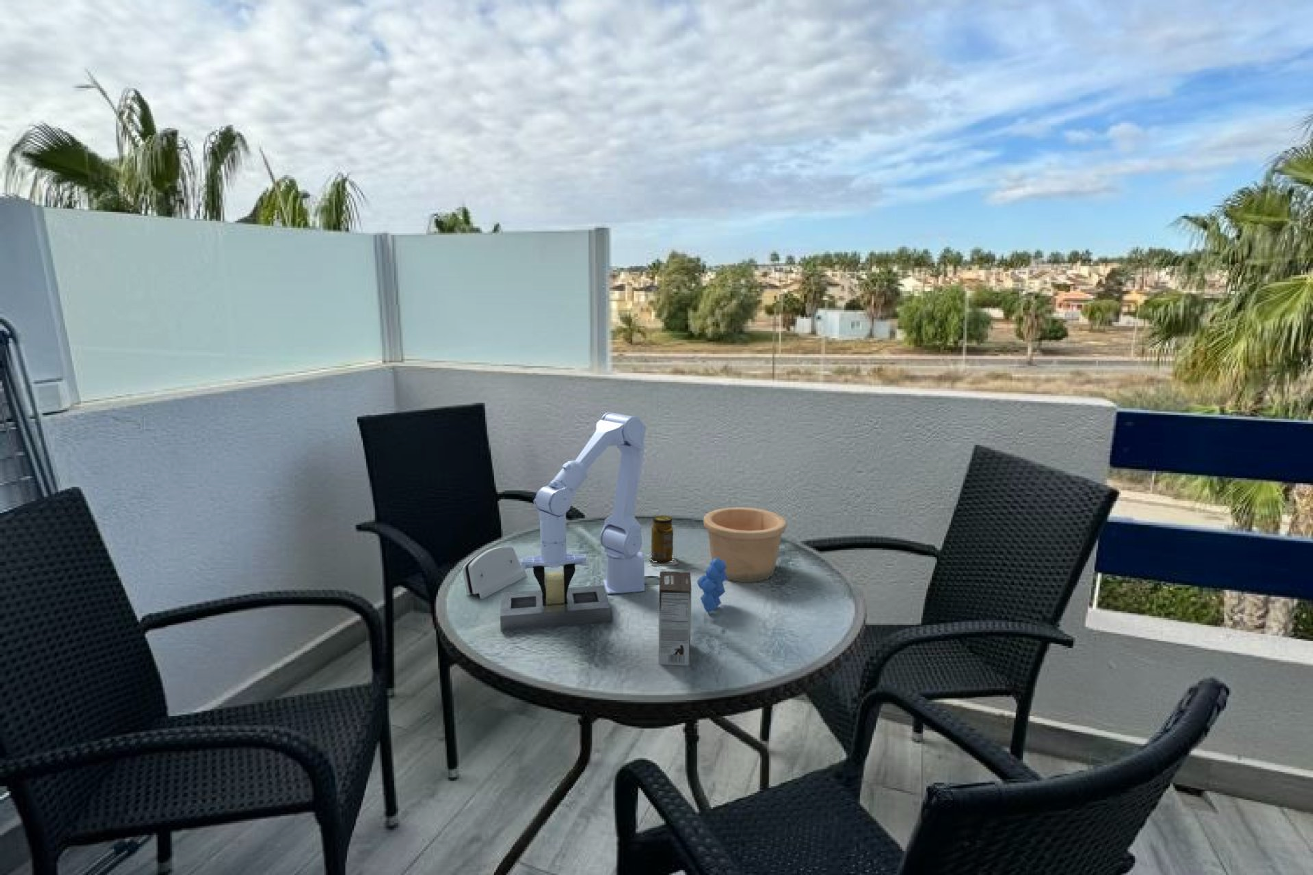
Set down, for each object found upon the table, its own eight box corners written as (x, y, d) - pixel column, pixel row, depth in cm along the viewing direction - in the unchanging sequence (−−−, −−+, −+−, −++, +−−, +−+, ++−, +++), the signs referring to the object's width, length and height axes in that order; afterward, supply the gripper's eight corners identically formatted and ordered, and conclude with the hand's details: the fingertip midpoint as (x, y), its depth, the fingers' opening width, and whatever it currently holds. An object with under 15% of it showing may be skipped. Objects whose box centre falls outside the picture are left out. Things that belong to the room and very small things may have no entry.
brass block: (563, 603, 152) (562, 571, 150) (564, 611, 148) (563, 579, 146) (545, 605, 151) (545, 572, 149) (546, 613, 147) (545, 580, 146)
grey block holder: (604, 598, 158) (603, 585, 158) (610, 621, 147) (610, 607, 146) (502, 606, 154) (501, 592, 153) (500, 631, 142) (500, 616, 142)
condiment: (671, 553, 188) (671, 513, 186) (678, 564, 180) (679, 522, 178) (646, 555, 187) (646, 514, 184) (652, 566, 178) (652, 524, 176)
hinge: (481, 599, 158) (469, 559, 157) (468, 601, 160) (456, 562, 160) (527, 575, 172) (516, 539, 172) (515, 577, 174) (504, 541, 174)
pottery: (767, 593, 162) (770, 538, 159) (688, 575, 173) (689, 523, 170) (795, 564, 181) (797, 515, 178) (722, 549, 191) (723, 502, 188)
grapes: (705, 594, 161) (706, 548, 159) (731, 600, 158) (733, 553, 156) (686, 614, 151) (687, 565, 148) (714, 620, 148) (715, 570, 146)
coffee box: (658, 642, 138) (659, 570, 135) (689, 642, 138) (690, 570, 135) (657, 665, 129) (658, 588, 126) (690, 666, 129) (691, 589, 126)
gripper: (520, 547, 142) (522, 606, 144) (587, 543, 144) (588, 600, 147) (520, 536, 148) (522, 592, 151) (584, 532, 151) (585, 587, 154)
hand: (554, 595), depth 149 cm, fingers closed on brass block, 4 cm apart
